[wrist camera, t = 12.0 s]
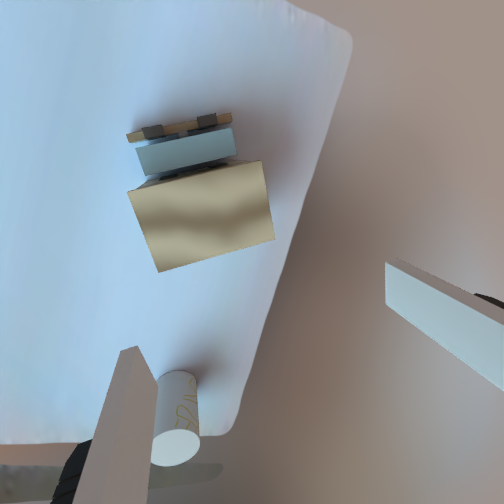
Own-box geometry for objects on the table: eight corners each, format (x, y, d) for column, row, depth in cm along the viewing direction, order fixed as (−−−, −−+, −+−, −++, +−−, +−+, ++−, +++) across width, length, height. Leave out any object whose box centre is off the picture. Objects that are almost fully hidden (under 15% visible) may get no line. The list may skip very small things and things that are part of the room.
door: (143, 142, 36) (131, 138, 28) (219, 125, 38) (229, 118, 30) (153, 171, 38) (145, 175, 30) (226, 154, 40) (237, 154, 31)
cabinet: (127, 135, 36) (100, 125, 24) (229, 114, 38) (249, 96, 26) (165, 239, 42) (158, 272, 30) (251, 216, 44) (275, 239, 32)
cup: (202, 392, 54) (206, 452, 43) (163, 407, 53) (158, 473, 42) (188, 364, 51) (189, 421, 40) (147, 380, 50) (137, 443, 39)
